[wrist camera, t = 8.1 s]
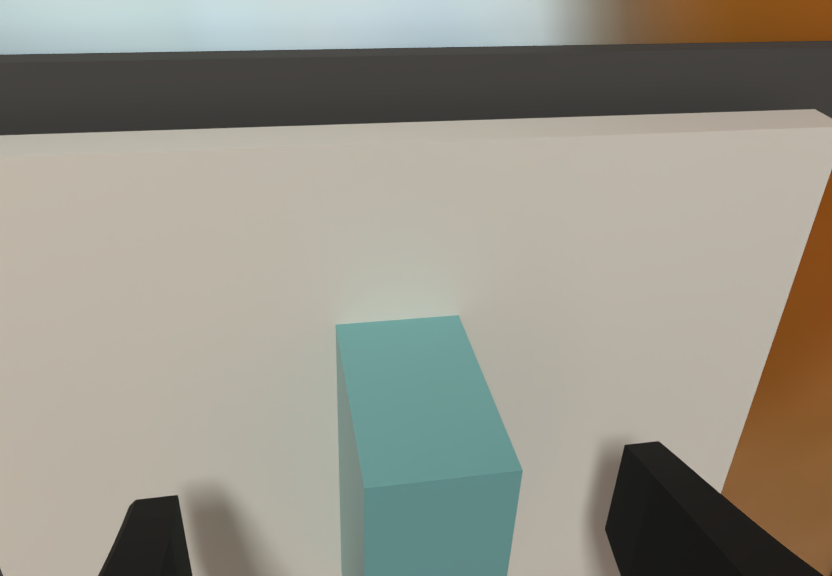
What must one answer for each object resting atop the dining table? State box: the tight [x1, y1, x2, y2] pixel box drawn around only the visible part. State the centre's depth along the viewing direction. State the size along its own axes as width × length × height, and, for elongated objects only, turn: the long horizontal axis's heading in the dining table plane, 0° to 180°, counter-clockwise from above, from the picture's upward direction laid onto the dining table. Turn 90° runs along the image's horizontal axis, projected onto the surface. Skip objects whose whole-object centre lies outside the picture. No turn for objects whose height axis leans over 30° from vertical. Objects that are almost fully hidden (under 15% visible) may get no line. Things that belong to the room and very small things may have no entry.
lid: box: [0, 109, 832, 576], centre depth 13 cm, size 14×12×5 cm
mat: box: [0, 41, 832, 576], centre depth 15 cm, size 16×13×1 cm
